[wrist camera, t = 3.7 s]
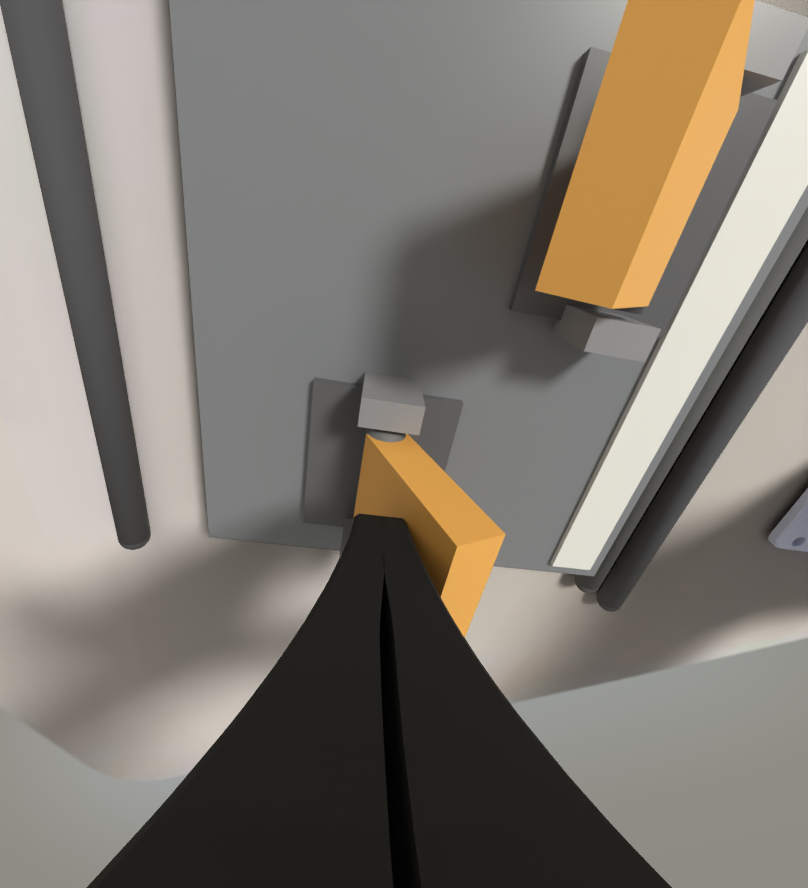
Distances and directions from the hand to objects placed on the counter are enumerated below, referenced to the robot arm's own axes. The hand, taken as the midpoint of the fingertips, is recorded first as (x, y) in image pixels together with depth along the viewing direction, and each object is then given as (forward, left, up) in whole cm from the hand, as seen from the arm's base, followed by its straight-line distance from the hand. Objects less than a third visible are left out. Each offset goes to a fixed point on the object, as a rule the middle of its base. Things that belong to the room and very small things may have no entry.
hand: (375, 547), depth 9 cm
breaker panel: (-2, -4, -5) cm, 7 cm away
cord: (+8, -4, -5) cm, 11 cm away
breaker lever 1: (0, 0, -3) cm, 3 cm away
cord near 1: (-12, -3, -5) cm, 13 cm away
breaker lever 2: (-5, -8, -3) cm, 10 cm away
